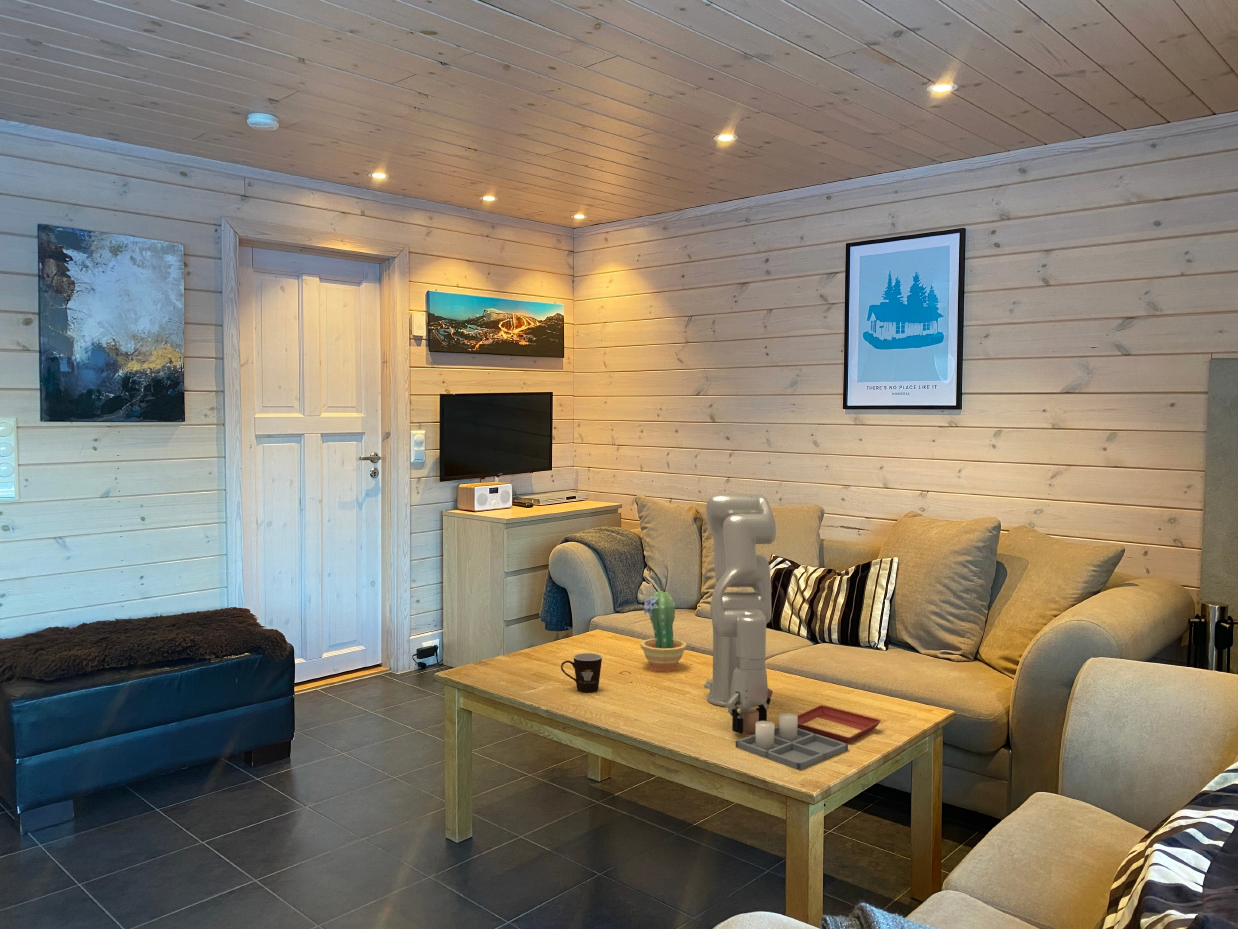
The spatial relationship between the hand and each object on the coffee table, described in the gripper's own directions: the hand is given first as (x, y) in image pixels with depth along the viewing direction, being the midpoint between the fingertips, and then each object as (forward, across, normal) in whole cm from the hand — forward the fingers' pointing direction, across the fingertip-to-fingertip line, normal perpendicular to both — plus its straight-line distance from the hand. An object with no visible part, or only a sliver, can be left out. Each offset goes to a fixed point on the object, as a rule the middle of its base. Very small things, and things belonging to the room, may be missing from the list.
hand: (749, 728), depth 237 cm
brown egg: (+2, 0, 0) cm, 2 cm away
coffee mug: (+2, +8, -58) cm, 59 cm away
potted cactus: (+2, -27, -59) cm, 65 cm away
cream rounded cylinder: (+1, -3, +10) cm, 11 cm away
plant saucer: (+2, -19, +13) cm, 23 cm away
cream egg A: (+1, +7, +10) cm, 12 cm away
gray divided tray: (+2, +2, +15) cm, 15 cm away
